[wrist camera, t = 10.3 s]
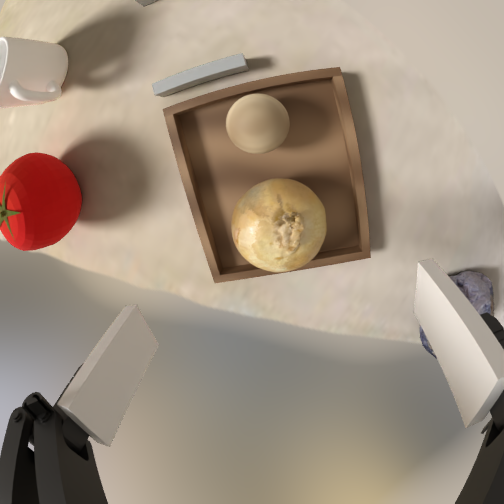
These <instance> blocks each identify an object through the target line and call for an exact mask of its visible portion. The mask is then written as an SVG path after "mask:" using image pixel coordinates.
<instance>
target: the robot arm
mask: <svg viewBox="0 0 504 504" xmlns="http://www.w3.org/2000/svg"><path fill="white" fill-rule="evenodd" d="M414 314H415V316H416V318H417V320H418V322H419V323H420V325H421V327H422V329H423V331H424V333H425V335H426V337H427V339H428V341H429V343H430V345H431V347H432V349H433V351H434V353H435V355H436V357H437V359H438V361H439V363H440V365H441V368H442V370H443V372H444V374H445V377H446V379H447V381H448V383H449V386H450V388H451V391H452V393H453V395H454V398H455V400H456V403H457V406H458V408H459V411H460V413H461V416H462V419H463V422H464V424H465V427H466V428H468V427H470V426H472V425H474V424H476V423H478V422H480V421H482V420H483V419H484V418H485V417H486V415H487V414H488V413H489V411H490V413H491V415H492V418H491V420H490V421H489V422H488V424H487V425H486V426H485V427H484V428H483V430H482V432H481V433H482V434H483V433H484V432H485V431H486V430H487V432H486V435H485V438H484V440H483V443H482V446H481V449H480V451H479V454H478V456H477V459H476V461H475V464H474V466H473V468H472V471H471V473H470V475H469V477H468V479H467V481H466V483H465V485H464V487H463V489H462V491H461V493H460V495H459V497H458V498H457V500H456V502H455V504H504V328H503V327H502V325H501V324H500V323H499V321H498V320H497V319H496V318H495V317H493V316H492V315H490V314H489V313H487V312H486V313H483V314H480V315H479V313H478V312H477V311H476V309H475V308H474V307H473V306H472V304H471V303H470V302H469V300H468V299H467V298H466V297H465V295H464V294H463V293H462V292H461V291H460V289H459V288H458V287H457V286H456V284H455V283H454V282H453V281H452V280H451V279H450V277H449V276H448V275H447V274H446V273H445V272H444V271H443V269H442V268H441V267H440V266H439V265H438V264H437V263H436V262H435V261H434V259H433V258H432V259H428V260H423V261H419V262H418V271H417V284H416V295H415V304H414ZM158 346H159V344H158V343H157V341H156V339H155V337H154V336H153V334H152V332H151V330H150V328H149V326H148V325H147V323H146V321H145V319H144V317H143V315H142V313H141V311H140V310H139V308H138V306H137V305H128V306H125V307H124V308H123V310H122V311H121V312H120V314H119V315H118V316H117V318H116V319H115V321H114V322H113V323H112V324H111V326H110V327H109V329H108V330H107V331H106V333H105V334H104V335H103V337H102V338H101V339H100V341H99V342H98V344H97V345H96V347H95V348H94V349H93V351H92V352H91V353H90V355H89V356H88V358H87V359H86V361H85V362H84V363H83V364H82V365H81V366H80V367H79V368H78V370H77V371H76V373H75V374H74V377H72V379H71V380H70V383H68V385H67V386H66V388H65V389H64V391H63V393H62V394H61V395H60V397H59V399H58V400H57V402H56V403H55V405H54V406H53V407H52V406H51V405H50V404H49V403H48V402H47V400H46V399H45V398H44V397H43V396H42V395H41V394H40V393H38V392H35V393H32V394H30V395H29V396H28V397H27V398H26V399H25V400H24V402H23V404H22V407H18V408H16V409H15V410H14V411H13V413H12V414H11V416H10V419H9V423H8V426H7V430H6V434H5V438H4V442H3V446H2V451H1V456H0V504H108V502H107V499H106V496H105V493H104V490H103V487H102V484H101V480H100V477H99V473H98V470H97V466H96V462H95V458H94V454H93V449H92V445H91V443H90V441H88V440H87V439H88V437H89V436H90V437H92V438H93V439H94V440H95V441H96V442H98V443H100V444H103V445H106V446H109V447H110V446H111V443H112V441H113V439H114V437H115V434H116V432H117V430H118V428H119V425H120V423H121V421H122V419H123V417H124V415H125V413H126V411H127V409H128V407H129V404H130V402H131V400H132V398H133V396H134V394H135V392H136V390H137V388H138V386H139V384H140V382H141V380H142V378H143V375H144V374H145V372H146V370H147V367H148V366H149V364H150V362H151V360H152V357H153V356H154V354H155V352H156V350H157V348H158ZM28 442H30V443H31V444H32V445H33V446H34V451H32V450H31V449H30V448H29V447H28Z"/></svg>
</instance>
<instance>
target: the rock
mask: <svg viewBox="0 0 504 504" xmlns="http://www.w3.org/2000/svg"><path fill="white" fill-rule="evenodd" d="M450 279H451V280H452V281H453V282H454V283H455V284H456V286H457V287H458V288H459V289H460V291H461V292H462V293H463V294H464V295H465V297H466V298H467V299H468V300H469V302H470V303H471V304H472V306H473V307H474V308H475V309H476V311H477V312H478V313H479V315H480V314H483V313H486V312H487V313H489V314H490V315H492V316H493V317H494V302H493V288H492V282H491V281H490V279H488V277H487V276H485V275H483V274H482V273H477V272H472V271H464V272H461V273H459V274H458V275H456V276H450ZM420 338H421V341H422V344H423V346H424V347H425V349H426V350H427V351H428V352H429V353H431V354H432V355H433V356H434V357H435V358H436V359H437V357H436V355H435V353H434V351H433V349H432V347H431V345H430V343H429V341H428V339H427V337H426V335H425V333H424V331H423V329H422V327H421V325H420Z"/></svg>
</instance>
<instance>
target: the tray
mask: <svg viewBox="0 0 504 504" xmlns="http://www.w3.org/2000/svg"><path fill="white" fill-rule="evenodd" d="M250 94H266V95H269V96H271V97H273V98H275V99H277V100H278V101H279V102H280V103H281V104H282V105H283V106H284V107H285V109H286V111H287V113H288V116H289V120H290V127H289V132H288V135H287V137H286V139H285V141H284V142H283V143H282V144H281V145H280V146H279V147H278V148H276V149H275V150H273V151H271V152H268V153H263V154H252V153H248V152H245V151H243V150H241V149H240V148H238V147H237V146H236V145H235V144H234V143H233V142H232V141H231V139H230V138H229V136H228V133H227V129H226V118H227V114H228V112H229V110H230V108H231V107H232V105H233V104H234V103H235V102H236V101H237V100H239V99H240V98H242V97H244V96H246V95H250ZM163 112H164V116H165V120H166V124H167V128H168V132H169V135H170V139H171V143H172V146H173V150H174V154H175V157H176V161H177V164H178V168H179V171H180V175H181V178H182V182H183V185H184V188H185V192H186V195H187V199H188V202H189V205H190V208H191V212H192V215H193V218H194V221H195V224H196V228H197V231H198V234H199V237H200V240H201V243H202V246H203V249H204V252H205V255H206V258H207V261H208V264H209V267H210V270H211V273H212V276H213V279H214V282H215V283H219V282H226V281H233V280H240V279H247V278H253V277H260V276H266V275H272V274H279V273H285V272H271V271H266V270H263V269H260V268H258V267H256V266H254V265H252V264H251V263H249V262H248V261H247V260H246V259H245V258H244V257H243V256H242V255H241V254H240V252H239V251H238V249H237V248H236V245H235V243H234V240H233V236H232V229H231V221H232V215H233V211H234V208H235V206H236V204H237V202H238V201H239V199H240V198H242V196H243V195H244V194H245V193H246V192H247V191H249V190H250V189H251V188H252V187H254V186H255V185H257V184H259V183H261V182H263V181H266V180H269V179H275V178H285V179H292V180H295V181H298V182H300V183H302V184H304V185H305V186H307V187H308V188H310V189H311V190H312V191H313V192H314V193H315V194H316V195H317V197H318V198H319V199H320V201H321V202H322V204H323V206H324V208H325V213H326V224H327V232H326V236H325V239H324V242H323V244H322V246H321V248H320V250H319V252H318V253H317V255H316V256H315V257H314V258H313V259H312V260H311V261H310V262H309V263H307V264H306V265H304V266H302V267H300V268H297V269H295V270H291V271H297V270H303V269H309V268H315V267H321V266H327V265H333V264H338V263H344V262H350V261H355V260H361V259H366V258H371V256H370V239H369V226H368V215H367V205H366V196H365V188H364V180H363V173H362V166H361V160H360V154H359V148H358V143H357V137H356V132H355V127H354V122H353V117H352V113H351V108H350V104H349V100H348V96H347V92H346V88H345V84H344V80H343V76H342V73H341V69H340V67H337V68H327V69H318V70H311V71H304V72H297V73H291V74H286V75H280V76H275V77H270V78H265V79H261V80H256V81H252V82H248V83H244V84H240V85H236V86H232V87H228V88H225V89H221V90H218V91H214V92H211V93H208V94H205V95H202V96H198V97H195V98H192V99H189V100H187V101H184V102H181V103H178V104H175V105H173V106H170V107H167V108H165V109H163ZM291 271H287V272H291Z"/></svg>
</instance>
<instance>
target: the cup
mask: <svg viewBox="0 0 504 504" xmlns="http://www.w3.org/2000/svg"><path fill="white" fill-rule="evenodd" d="M67 70H68V55H67V52H66V50H65V49H64V48H63V47H62V46H60V45H58V44H54V43H49V42H43V41H36V40H29V39H21V38H11V37H0V109H1V108H9V107H18V106H28V105H39V104H43V103H45V102H49V101H54V100H57V99H58V98H59V97H60V96H61V93H62V90H61V86H62V84H63V82H64V80H65V77H66V74H67Z"/></svg>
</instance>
